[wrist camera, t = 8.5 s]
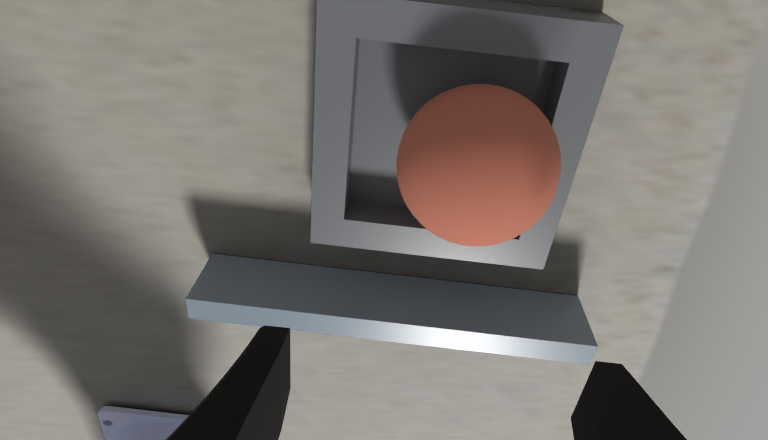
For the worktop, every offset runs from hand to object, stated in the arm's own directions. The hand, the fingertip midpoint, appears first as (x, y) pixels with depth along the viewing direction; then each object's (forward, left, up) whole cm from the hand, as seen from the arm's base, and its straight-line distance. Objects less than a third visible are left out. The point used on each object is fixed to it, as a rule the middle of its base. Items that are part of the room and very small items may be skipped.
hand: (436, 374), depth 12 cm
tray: (+3, 0, -9) cm, 10 cm away
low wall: (-5, +1, -9) cm, 11 cm away
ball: (+3, -1, -6) cm, 7 cm away
